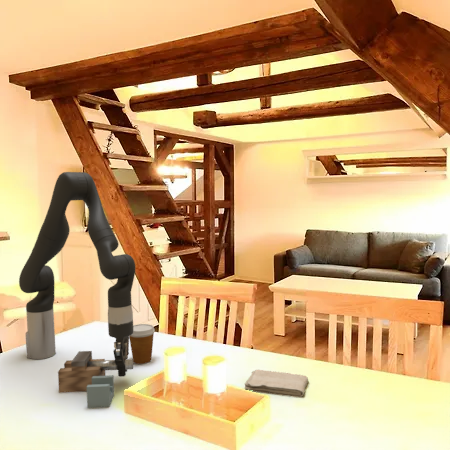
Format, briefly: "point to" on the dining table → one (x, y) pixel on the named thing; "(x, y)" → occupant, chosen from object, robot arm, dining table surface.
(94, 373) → the walnut bearing block
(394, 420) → the dining table surface
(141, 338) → the disposable coffee cup
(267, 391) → the washcloth
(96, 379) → the slate V-block
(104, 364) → the steel axle
